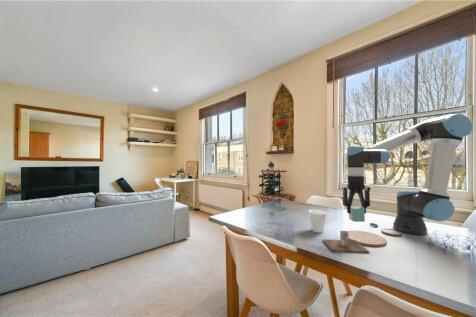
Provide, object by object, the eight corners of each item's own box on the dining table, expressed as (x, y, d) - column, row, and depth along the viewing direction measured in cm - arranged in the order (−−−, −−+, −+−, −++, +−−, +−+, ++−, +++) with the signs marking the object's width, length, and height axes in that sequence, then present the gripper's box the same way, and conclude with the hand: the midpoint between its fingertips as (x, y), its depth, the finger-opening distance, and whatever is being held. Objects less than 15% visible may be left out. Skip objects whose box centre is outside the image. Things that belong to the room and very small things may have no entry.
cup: (329, 235, 110) (329, 214, 110) (309, 233, 112) (309, 213, 112) (324, 228, 119) (325, 210, 119) (307, 227, 121) (307, 209, 121)
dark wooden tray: (355, 242, 100) (355, 227, 100) (369, 253, 89) (369, 237, 89) (322, 240, 102) (322, 227, 102) (331, 251, 90) (331, 236, 90)
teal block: (359, 218, 109) (358, 206, 109) (364, 221, 103) (364, 208, 103) (349, 218, 109) (348, 206, 109) (354, 221, 104) (353, 208, 104)
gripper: (369, 174, 109) (370, 217, 109) (334, 175, 111) (335, 217, 111) (378, 175, 102) (379, 221, 102) (340, 176, 103) (341, 221, 103)
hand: (356, 219), depth 106 cm, fingers closed on teal block, 5 cm apart
